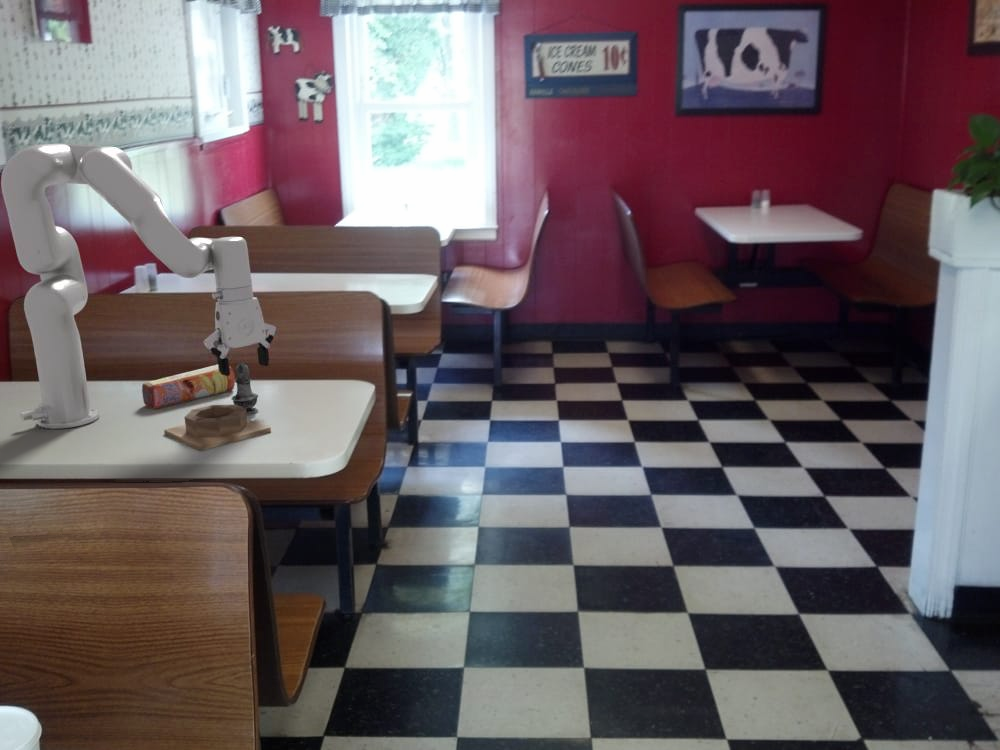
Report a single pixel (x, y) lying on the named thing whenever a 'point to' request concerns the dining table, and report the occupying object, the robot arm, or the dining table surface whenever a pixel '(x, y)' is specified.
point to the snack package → (186, 387)
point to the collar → (216, 427)
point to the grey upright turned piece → (244, 390)
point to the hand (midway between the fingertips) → (245, 370)
